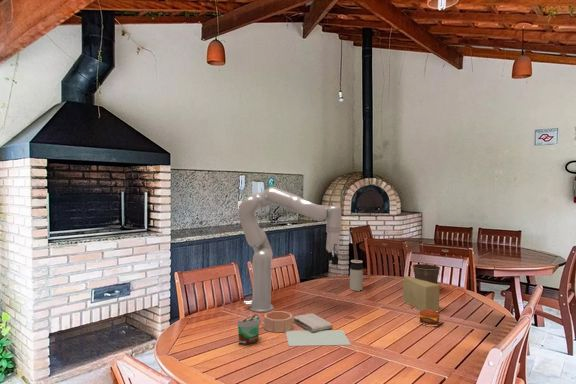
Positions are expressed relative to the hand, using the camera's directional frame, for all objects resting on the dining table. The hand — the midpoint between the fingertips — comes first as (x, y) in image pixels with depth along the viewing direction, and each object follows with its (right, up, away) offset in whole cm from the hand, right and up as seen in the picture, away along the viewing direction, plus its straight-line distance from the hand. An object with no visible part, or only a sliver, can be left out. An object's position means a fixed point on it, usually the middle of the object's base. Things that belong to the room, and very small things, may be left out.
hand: (332, 262), depth 208 cm
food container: (-38, -26, -41) cm, 62 cm away
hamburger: (+45, -27, -15) cm, 54 cm away
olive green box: (+47, -26, +10) cm, 55 cm away
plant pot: (+62, -26, +40) cm, 78 cm away
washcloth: (-12, -26, -20) cm, 35 cm away
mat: (-11, -26, -35) cm, 45 cm away
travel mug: (+19, -25, +43) cm, 53 cm away
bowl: (-28, -26, -24) cm, 45 cm away
